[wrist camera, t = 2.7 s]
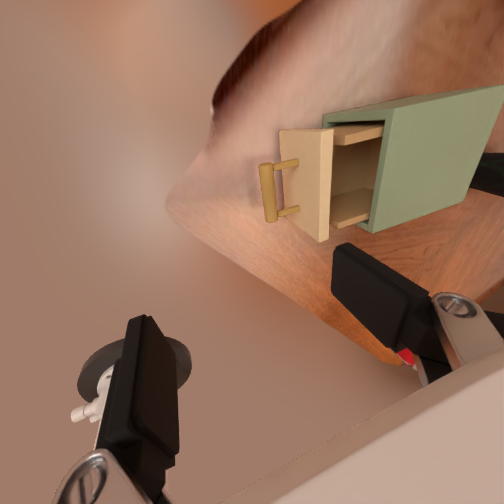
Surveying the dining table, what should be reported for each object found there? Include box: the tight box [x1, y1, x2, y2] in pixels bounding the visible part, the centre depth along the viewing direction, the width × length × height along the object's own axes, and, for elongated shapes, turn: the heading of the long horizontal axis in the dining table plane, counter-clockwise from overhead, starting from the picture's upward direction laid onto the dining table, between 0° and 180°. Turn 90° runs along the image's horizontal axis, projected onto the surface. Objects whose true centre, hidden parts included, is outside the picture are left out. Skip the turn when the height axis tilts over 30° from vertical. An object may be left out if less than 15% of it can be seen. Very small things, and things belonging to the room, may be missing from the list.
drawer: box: [258, 120, 385, 242], centre depth 23 cm, size 17×10×8 cm, turn 99°
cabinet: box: [323, 84, 504, 234], centre depth 25 cm, size 14×12×10 cm
